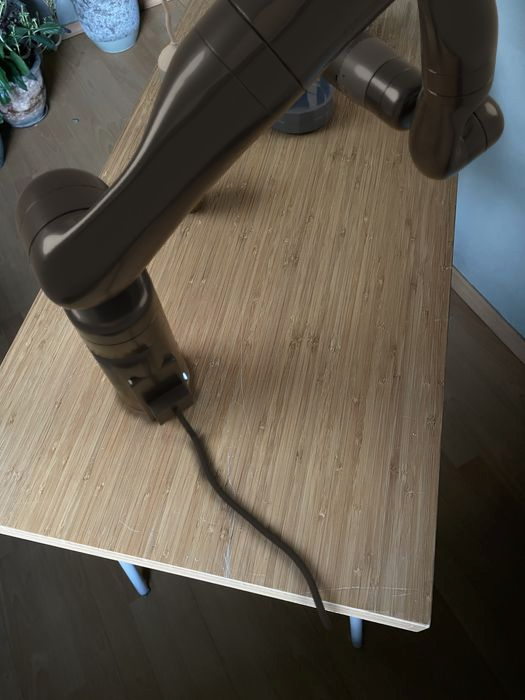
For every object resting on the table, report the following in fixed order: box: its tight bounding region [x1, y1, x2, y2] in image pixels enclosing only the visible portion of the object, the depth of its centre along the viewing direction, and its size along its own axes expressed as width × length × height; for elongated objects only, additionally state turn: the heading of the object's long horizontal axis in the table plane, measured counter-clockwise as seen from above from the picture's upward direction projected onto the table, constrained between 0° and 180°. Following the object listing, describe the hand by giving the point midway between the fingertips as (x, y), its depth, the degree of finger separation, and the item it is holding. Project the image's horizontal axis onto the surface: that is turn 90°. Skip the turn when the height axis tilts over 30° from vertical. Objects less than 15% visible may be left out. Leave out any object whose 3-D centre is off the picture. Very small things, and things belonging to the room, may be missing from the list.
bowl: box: [270, 75, 336, 134], centre depth 100 cm, size 12×12×4 cm
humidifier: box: [157, 0, 185, 82], centre depth 92 cm, size 8×8×25 cm
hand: (286, 13), depth 83 cm, fingers closed on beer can, 4 cm apart
